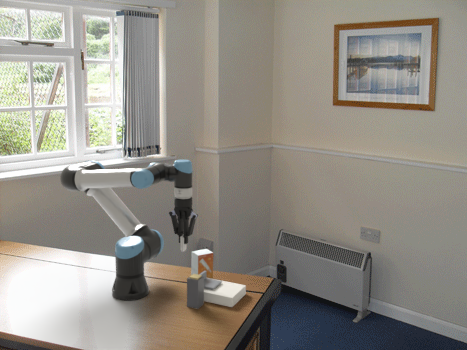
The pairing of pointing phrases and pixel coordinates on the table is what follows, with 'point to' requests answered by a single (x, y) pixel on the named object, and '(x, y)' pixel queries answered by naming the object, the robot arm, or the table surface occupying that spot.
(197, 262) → the small box
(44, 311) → the table surface
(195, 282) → the plug
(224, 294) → the socket
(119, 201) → the robot arm
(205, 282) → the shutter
